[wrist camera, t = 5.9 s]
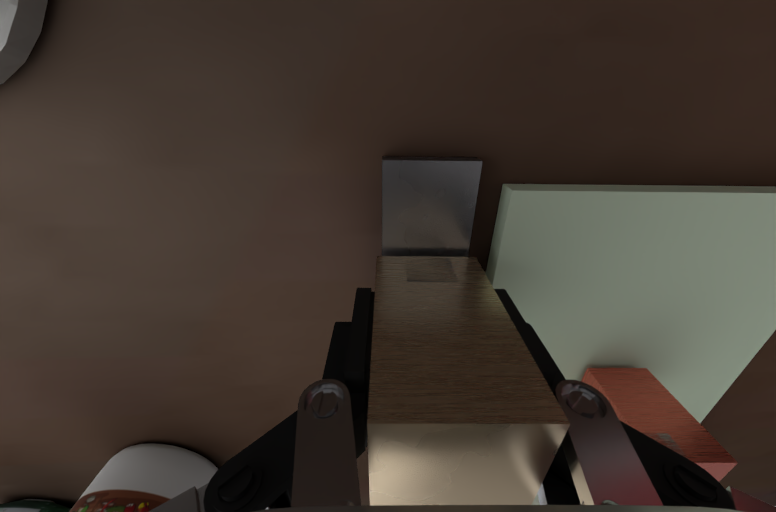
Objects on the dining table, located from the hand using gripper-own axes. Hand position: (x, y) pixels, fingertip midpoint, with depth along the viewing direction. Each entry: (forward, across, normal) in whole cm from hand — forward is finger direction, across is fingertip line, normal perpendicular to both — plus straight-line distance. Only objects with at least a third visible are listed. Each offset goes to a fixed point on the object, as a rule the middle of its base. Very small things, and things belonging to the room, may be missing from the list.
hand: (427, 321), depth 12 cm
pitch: (+3, -10, +6) cm, 12 cm away
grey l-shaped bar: (+2, -5, +7) cm, 9 cm away
